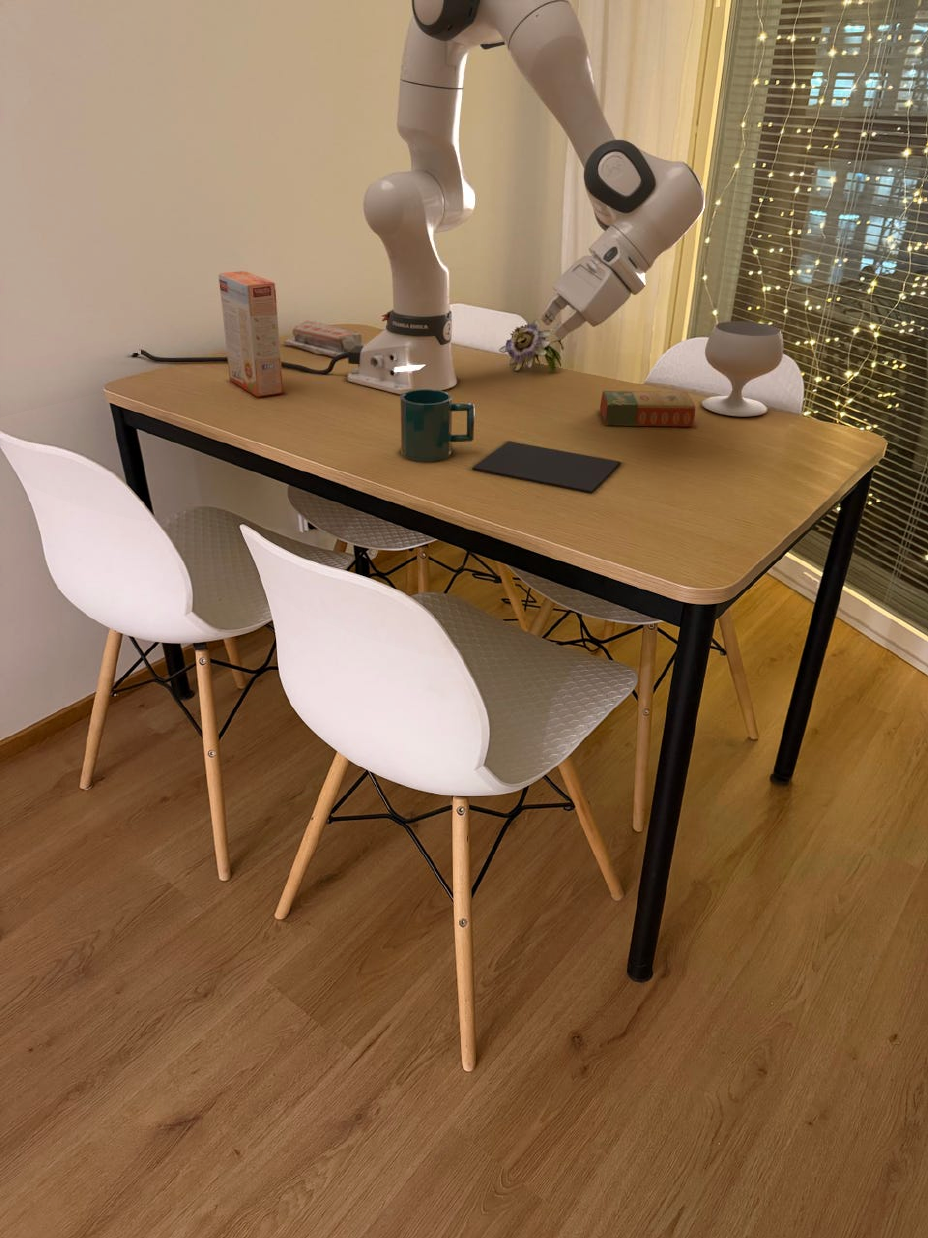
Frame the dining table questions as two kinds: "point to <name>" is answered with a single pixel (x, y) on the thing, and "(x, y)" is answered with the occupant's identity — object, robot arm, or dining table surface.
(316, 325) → the packaged product
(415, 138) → the robot arm
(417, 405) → the mug
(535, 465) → the placemat
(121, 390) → the dining table surface
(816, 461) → the dining table surface
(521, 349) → the passion flower
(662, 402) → the carton
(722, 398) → the chalice
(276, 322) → the cracker box
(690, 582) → the dining table surface
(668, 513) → the dining table surface
